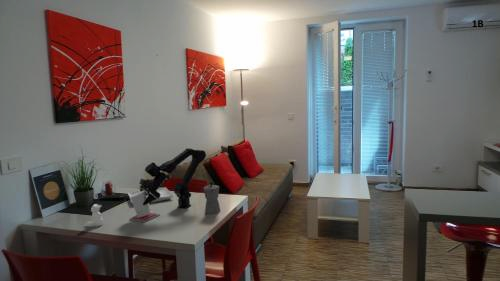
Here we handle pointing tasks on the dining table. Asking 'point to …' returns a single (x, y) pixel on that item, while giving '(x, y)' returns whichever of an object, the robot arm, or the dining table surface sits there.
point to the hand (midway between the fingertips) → (140, 203)
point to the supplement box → (140, 204)
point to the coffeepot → (212, 199)
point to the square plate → (163, 192)
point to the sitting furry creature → (95, 217)
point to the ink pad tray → (145, 217)
